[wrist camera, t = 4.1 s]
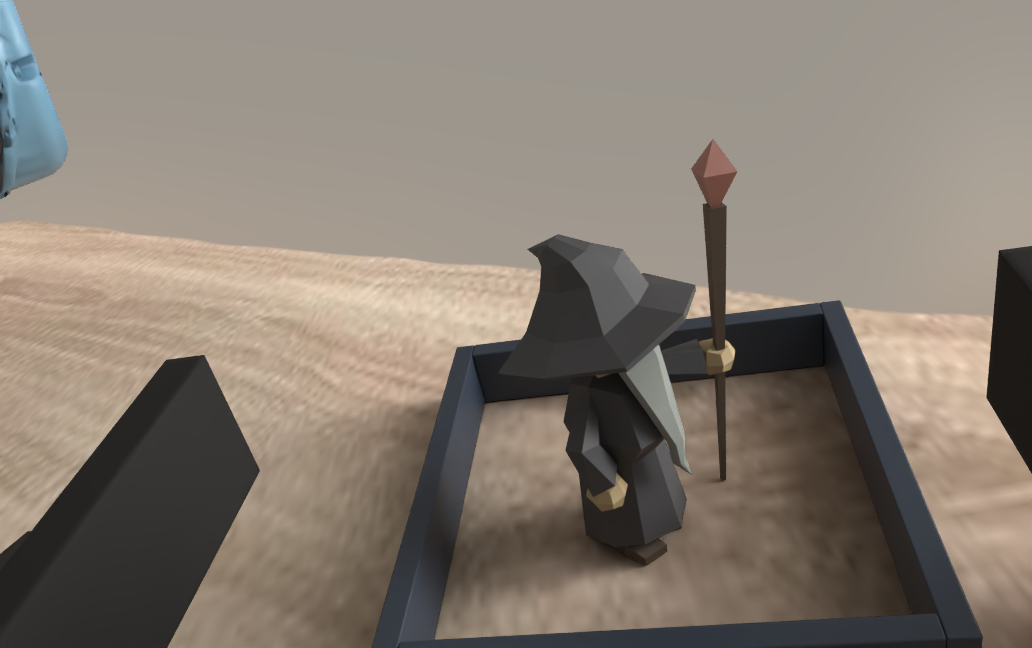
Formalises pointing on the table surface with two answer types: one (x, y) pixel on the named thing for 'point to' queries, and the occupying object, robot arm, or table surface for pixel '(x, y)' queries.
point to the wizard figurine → (628, 371)
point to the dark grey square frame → (758, 348)
